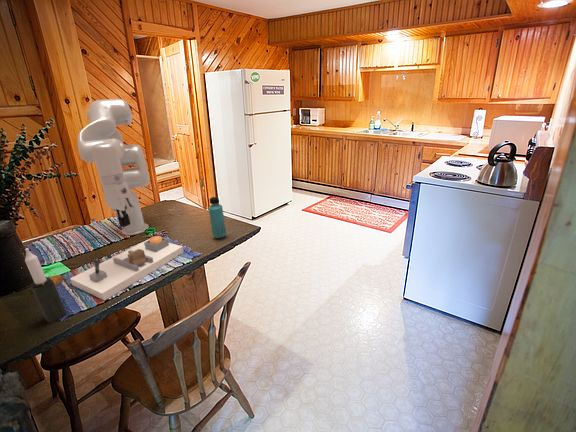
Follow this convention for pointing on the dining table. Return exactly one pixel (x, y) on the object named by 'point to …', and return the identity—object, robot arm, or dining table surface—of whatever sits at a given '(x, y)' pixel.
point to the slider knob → (137, 257)
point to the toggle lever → (97, 265)
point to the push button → (155, 240)
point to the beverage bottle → (217, 218)
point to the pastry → (56, 279)
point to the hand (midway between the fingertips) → (125, 225)
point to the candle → (44, 290)
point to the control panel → (125, 269)
